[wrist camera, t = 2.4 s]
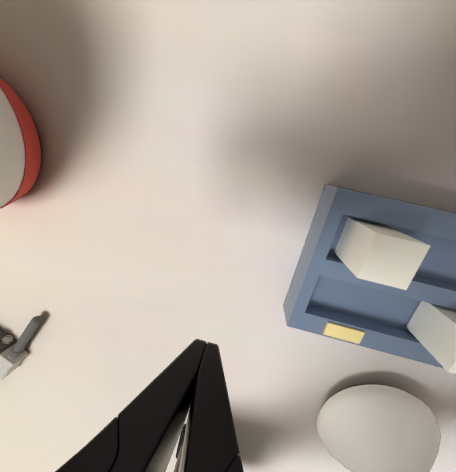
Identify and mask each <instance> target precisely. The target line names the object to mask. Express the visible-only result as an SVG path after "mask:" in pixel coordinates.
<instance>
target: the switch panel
mask: <svg viewBox="0 0 456 472" xmlns="http://www.w3.org/2000/svg"><path fill="white" fill-rule="evenodd" d="M348 217H349V218H353V219H358V220H362V221H366V222H371V223H375V224H379V225H384V226H388V227H390V228H392V229H394V230H397V231H399V232H401V233H403V234H406V235H408V236H410V237H412V238H415V239H417V240H419V241H421V242H423V243H426V244H428V245H430V248H429V250H428V252H427V254H426V255H425V257H424V259H423V261H422V263H421V264H420V266H419V268H418V270H417V272H416V274H415V275H414V277H413V279H412V281H411V283H410V284H409V286H408V288H407V290H403V289H399V288H395V287H391V286H387V285H383V284H379V283H375V282H371V281H367V280H363V279H359V278H357V277H356V276H355V275H354V274H353V273H352V272H351V271H350V270H349V268H348V267H347V266H346V265H345V264H344V263H343V262H342V261H341V259H340V258H339V257H338V256H337V255H336V254H335V253H334V251H335V249H336V246H337V244H338V241H339V239H340V236H341V234H342V231H343V229H344V226H345V224H346V221H347V219H348ZM421 301H423V302H427V303H431V304H435V305H439V306H443V307H447V308H451V309H455V310H456V213H452V212H448V211H443V210H439V209H434V208H430V207H425V206H421V205H416V204H412V203H407V202H403V201H398V200H394V199H389V198H385V197H380V196H376V195H371V194H367V193H362V192H358V191H353V190H349V189H345V188H340V187H336V186H331V185H327V184H325V187H324V189H323V192H322V195H321V198H320V201H319V204H318V207H317V210H316V212H315V215H314V218H313V221H312V224H311V227H310V230H309V233H308V236H307V238H306V241H305V244H304V247H303V250H302V253H301V256H300V259H299V261H298V264H297V267H296V270H295V273H294V276H293V279H292V282H291V284H290V287H289V290H288V293H287V296H286V299H285V302H284V305H283V306H284V312H285V318H286V323H287V326H290V327H293V328H297V329H301V330H304V331H308V332H312V333H316V334H319V335H323V336H327V337H330V338H334V339H338V340H342V341H345V342H349V343H353V344H356V345H360V346H364V347H368V348H371V349H375V350H379V351H382V352H386V353H390V354H393V355H397V356H401V357H405V358H408V359H412V360H416V361H419V362H423V363H427V364H431V365H434V366H438V367H442V365H441V364H440V363H439V362H438V361H437V360H436V359H435V358H434V357H433V356H432V355H431V354H430V353H429V351H428V350H427V349H426V348H425V347H424V346H423V345H422V344H421V343H420V342H419V341H418V340H417V338H416V337H415V336H414V335H413V334H412V333H411V332H410V331H409V330H408V329H407V328H406V326H407V324H408V323H409V321H410V319H411V318H412V316H413V314H414V312H415V311H416V309H417V307H418V306H419V304H420V302H421ZM442 368H443V367H442Z"/></svg>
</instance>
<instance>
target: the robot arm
mask: <svg viewBox="0 0 456 472" xmlns="http://www.w3.org/2000/svg"><path fill="white" fill-rule="evenodd" d="M189 408H190V409H189ZM188 411H189V414H188ZM187 414H188V419H187V425H186V426H183V425H184V422H185V420H186V417H187ZM180 432H181V435H180ZM179 435H180V439H179V444H178V449H177V453H176V458H177V462H176V466H175V469H174V472H244V471H243V466H242V461H241V457H240V456H239V453H240V452H239V447H238V442H237V437H236V432H235V427H234V422H233V417H232V412H231V407H230V402H229V397H228V392H227V387H226V382H225V377H224V372H223V367H222V362H221V357H220V352H219V347H218V345H217V344H214V343H210V342H208V343H206V341H203V340H199V339H196V340H194V341H193V342H192V343H191V344H190V345H189V346H188V347H187V348H186V349H185V350H184V351H183V352H182V353H181V354H180V355H179V356H178V357H177V358H176V359H175V360H174V361H173V362H172V363H171V364H170V365H169V366H168V367H167V368H166V369H165V370H164V371H162V372H161V373H160V374H159V375H158V376H157V377H156V378H155V379H154V380H153V381H152V382H151V383H150V384H149V385H148V386H147V387H146V388H145V389H144V390H143V391H142V392H141V393H140V394H139V395H138V396H137V397H136V398H135V399H134V400H133V401H132V402H131V403H130V404H129V405H128V406H127V407H126V408H125V409H123V410H122V411H121V412H120V413H119V414H118V418H117V417H115V418H114V419H113V420H112V421H111V422H110V423H109V424H108V425H107V426H106V427H105V428H104V429H103V430H102V431H101V432H100V433H99V434H97V435H96V436H95V437H94V438H93V439H92V440H91V441H90V442H89V443H88V444H87V445H86V446H85V447H83V448H82V449H81V450H80V451H79V452H78V453H76V454H75V455H74V456H73V457H72V458H71V459H69V460H68V461H67V462H66V463H65V464H64V465H62V466H61V467H60V468H59V469H58V470H57V471H55V472H165V471H166V468H167V466H168V463H169V461H170V458H171V455H172V453H173V450H174V448H175V445H176V443H177V440H178V438H179Z"/></svg>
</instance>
